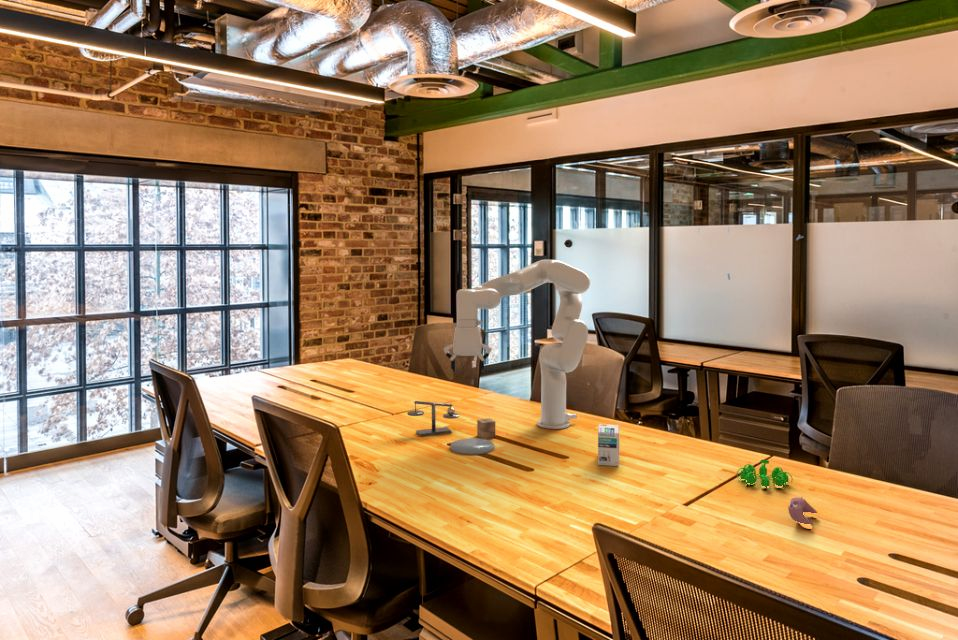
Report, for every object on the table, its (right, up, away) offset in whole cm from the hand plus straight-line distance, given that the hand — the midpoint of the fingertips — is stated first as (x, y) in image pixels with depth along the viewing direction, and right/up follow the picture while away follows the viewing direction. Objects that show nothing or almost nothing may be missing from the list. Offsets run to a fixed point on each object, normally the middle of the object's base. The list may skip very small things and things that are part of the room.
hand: (467, 371), depth 241 cm
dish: (+2, -26, -10) cm, 28 cm away
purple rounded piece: (+85, -33, -73) cm, 116 cm away
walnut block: (+7, -24, +4) cm, 25 cm away
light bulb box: (+46, -27, -24) cm, 58 cm away
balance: (-13, -24, +8) cm, 28 cm away
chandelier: (+87, -30, -45) cm, 102 cm away
